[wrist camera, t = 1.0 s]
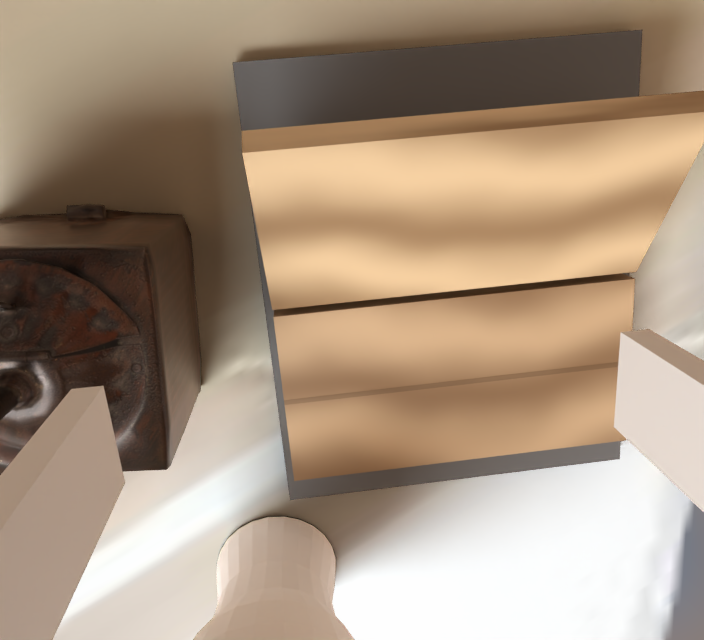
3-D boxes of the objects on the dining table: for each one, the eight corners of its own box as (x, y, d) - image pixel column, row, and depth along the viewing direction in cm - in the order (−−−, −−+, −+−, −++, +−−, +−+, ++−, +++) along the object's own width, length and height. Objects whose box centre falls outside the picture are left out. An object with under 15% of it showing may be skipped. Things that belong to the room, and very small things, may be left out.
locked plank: (274, 309, 34) (273, 317, 32) (621, 273, 35) (635, 278, 34) (294, 467, 37) (294, 481, 35) (613, 428, 38) (625, 440, 37)
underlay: (234, 64, 31) (232, 62, 30) (632, 32, 32) (642, 29, 31) (290, 490, 38) (290, 499, 37) (611, 451, 40) (619, 458, 39)
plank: (241, 130, 25) (242, 152, 24) (703, 90, 26) (720, 110, 25) (271, 288, 33) (272, 309, 32) (625, 252, 34) (636, 271, 33)
